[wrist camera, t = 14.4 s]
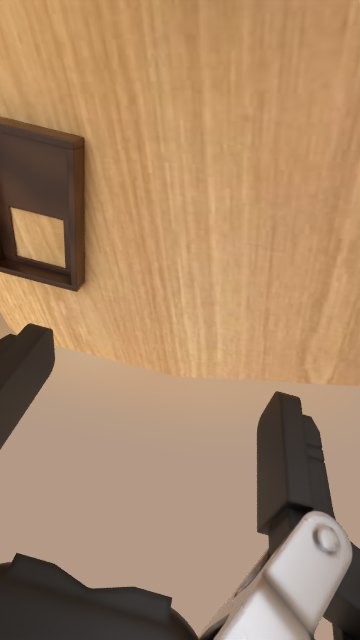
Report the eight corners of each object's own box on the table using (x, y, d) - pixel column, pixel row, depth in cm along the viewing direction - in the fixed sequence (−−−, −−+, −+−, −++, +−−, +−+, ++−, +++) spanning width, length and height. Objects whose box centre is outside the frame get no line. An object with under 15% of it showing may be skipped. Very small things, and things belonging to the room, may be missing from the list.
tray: (-27, 109, 34) (-44, 112, 32) (84, 137, 34) (73, 141, 32) (1, 260, 46) (-10, 269, 44) (84, 282, 45) (77, 292, 43)
